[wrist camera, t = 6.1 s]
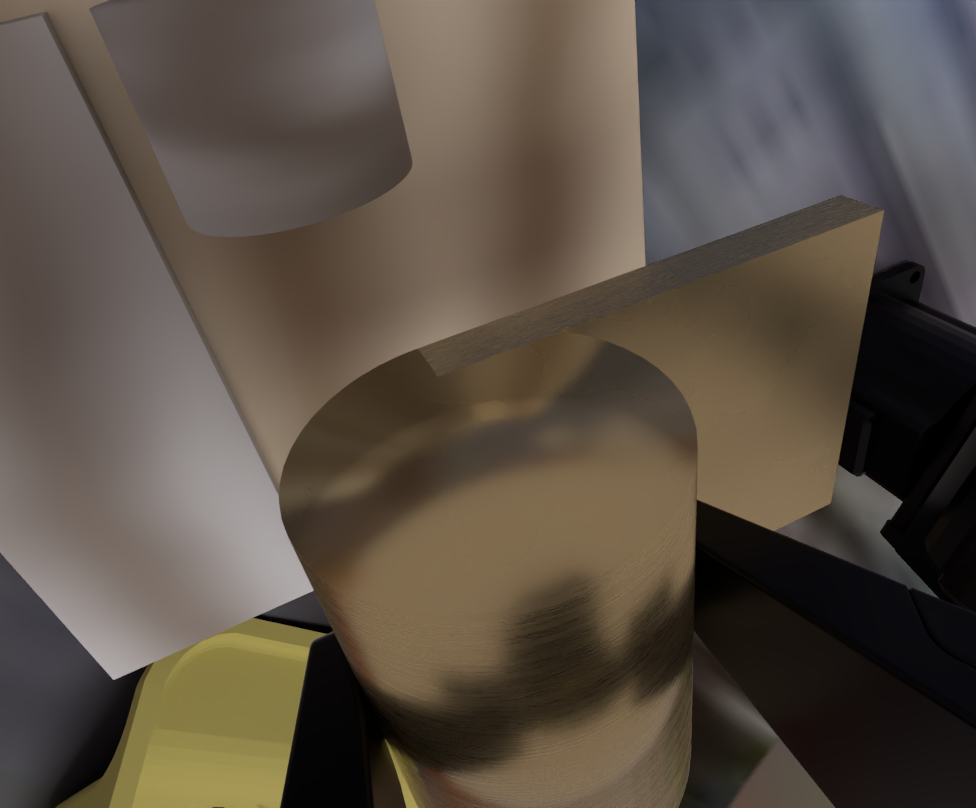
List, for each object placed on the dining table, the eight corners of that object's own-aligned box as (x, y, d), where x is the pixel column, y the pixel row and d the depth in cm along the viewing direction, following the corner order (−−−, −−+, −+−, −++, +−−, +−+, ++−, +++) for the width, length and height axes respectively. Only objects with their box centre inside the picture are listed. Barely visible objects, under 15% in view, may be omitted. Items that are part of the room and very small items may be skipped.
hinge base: (591, -147, 16) (777, -183, 11) (628, 405, 26) (737, 504, 21) (-332, 57, 12) (-613, 126, 7) (122, 623, 21) (122, 804, 17)
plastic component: (-3, 924, 23) (100, 886, 17) (68, 689, 27) (167, 598, 22) (471, 913, 33) (631, 887, 28) (464, 745, 38) (601, 693, 32)
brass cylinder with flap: (252, 408, 9) (328, 703, 5) (840, 195, 11) (1166, 308, 7) (375, 680, 12) (468, 960, 9) (800, 479, 14) (1008, 643, 11)
